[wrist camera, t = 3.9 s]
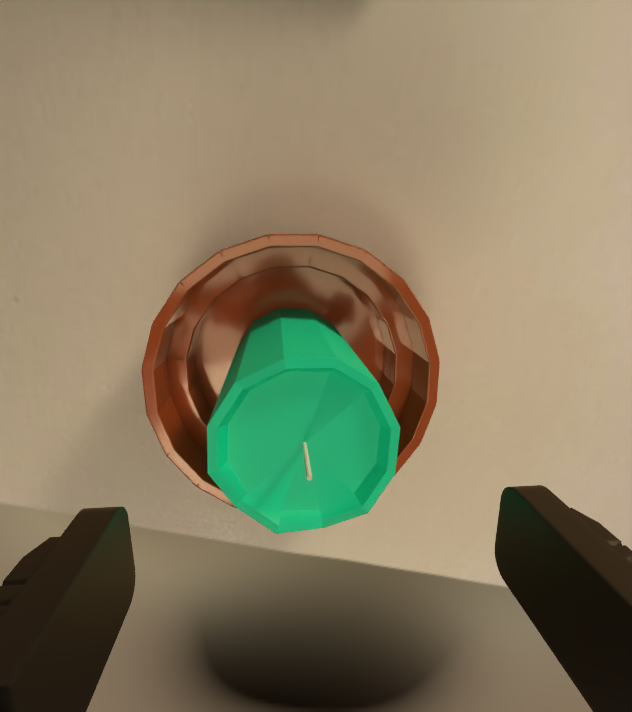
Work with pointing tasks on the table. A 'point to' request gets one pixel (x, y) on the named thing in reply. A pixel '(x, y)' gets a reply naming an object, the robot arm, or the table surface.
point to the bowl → (263, 295)
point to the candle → (300, 426)
